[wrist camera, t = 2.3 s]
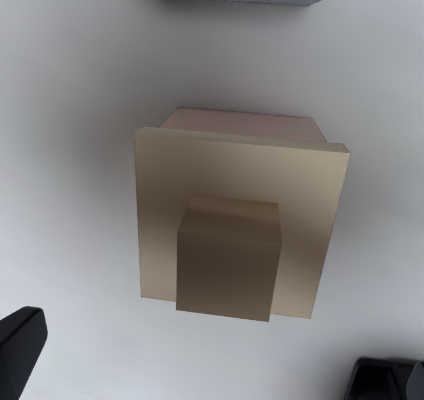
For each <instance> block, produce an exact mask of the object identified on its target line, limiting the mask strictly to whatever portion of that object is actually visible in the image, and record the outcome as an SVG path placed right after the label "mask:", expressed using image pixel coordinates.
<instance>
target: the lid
mask: <svg viewBox="0 0 424 400" xmlns="http://www.w3.org/2000/svg"><path fill="white" fill-rule="evenodd" d="M134 147H135V170H136V193H137V216H138V239H139V262H140V285H141V297H143V298H151V299H159V300H167V301H174V302H176V310H180V311H188V312H196V313H203V314H211V315H219V316H227V317H234V318H242V319H250V320H257V321H265V322H269V316H270V314H276V315H284V316H292V317H300V318H308V319H310V318H311V314H312V310H313V306H314V302H315V298H316V294H317V290H318V285H319V281H320V277H321V273H322V269H323V265H324V261H325V257H326V253H327V248H328V244H329V240H330V236H331V232H332V228H333V224H334V220H335V216H336V211H337V207H338V203H339V199H340V195H341V191H342V187H343V183H344V179H345V174H346V170H347V166H348V162H349V158H350V154H351V153H350V152H349V151H348V149H347V148H346V146H345V145H344V144H338V143H326V142H315V141H303V140H292V139H281V138H269V137H258V136H246V135H235V134H224V133H212V132H201V131H189V130H178V129H167V128H155V127H144V126H143V127H142V128H140V129H139V130H138V131H137V132H136V133H135V134H134Z"/></svg>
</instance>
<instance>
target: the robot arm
mask: <svg viewBox="0 0 424 400" xmlns="http://www.w3.org/2000/svg"><path fill="white" fill-rule="evenodd" d="M47 335H48V331H47V326H46V321H45V316H44V311H43V310H42V309H41V308H38V307H31V306H25V307H23V308H21V309H19V310H17V311H15V312H14V313H12V314H10V315H8V316H7V317H5V318H3V319H2V320H0V400H19V398H20V396H21V394H22V392H23V390H24V388H25V385H26V383H27V381H28V379H29V377H30V375H31V372H32V370H33V368H34V366H35V364H36V362H37V360H38V357H39V355H40V353H41V351H42V349H43V347H44V345H45V342H46V340H47ZM344 400H424V361H419V362H417V363H416V365H415V366H412V365H405V364H397V363H390V362H382V361H375V360H368V359H362V360H359V361H358V362H357V363H356V366H355V368H354V371H353V374H352V377H351V380H350V383H349V386H348V389H347V391H346V394H345V397H344Z"/></svg>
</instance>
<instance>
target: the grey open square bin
mask: <svg viewBox="0 0 424 400" xmlns="http://www.w3.org/2000/svg"><path fill="white" fill-rule="evenodd" d="M215 1H233V2H250V3H268V4H285V5H302V6H310V5H312V4H314V3H316V2H319V1H321V0H215Z"/></svg>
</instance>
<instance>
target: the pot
mask: <svg viewBox="0 0 424 400" xmlns="http://www.w3.org/2000/svg"><path fill="white" fill-rule="evenodd" d="M159 128H167V129H178V130H189V131H201V132H212V133H224V134H235V135H246V136H258V137H269V138H281V139H292V140H303V141H315V142H326V143H327V141H326V139H325V138H324V136H323V134H322V133H321V131H320V129H319V128H318V126H317V125H316V123H315V121H314V120H313V118H303V117H291V116H279V115H266V114H254V113H242V112H230V111H218V110H206V109H194V108H182V107H179V108H178V109H177V110H176V111H175V112H174V113H173V114H172V115H171V116H170V117H169V118H168V119H167V120H166V121H165V122H164V123H163V124H162V125H161V126H160V127H159Z"/></svg>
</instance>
